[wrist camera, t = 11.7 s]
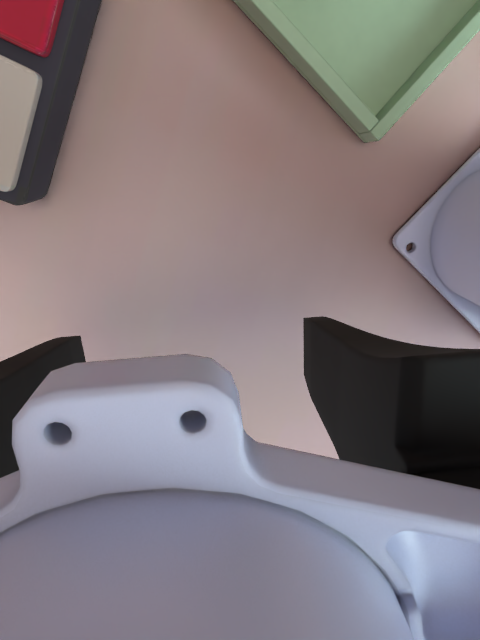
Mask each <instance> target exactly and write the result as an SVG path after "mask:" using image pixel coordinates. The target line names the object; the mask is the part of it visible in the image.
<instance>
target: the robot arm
mask: <svg viewBox="0 0 480 640" xmlns="http://www.w3.org/2000/svg"><path fill="white" fill-rule="evenodd" d="M409 243H412V244H413V246H412V249H411V250H409V251H407V250H406V246H407V244H409ZM393 245H394V247H395V248H396V249H397V250H398V251H399V252H400V253H401V254H402V255H403V256H404V257H405V258H406V259H407V260H408V261H409V262H410V263H411V264H412V265H413V266H414V267H415V268H416V269H417V270H418V271H419V272H420V273H421V274H422V275H423V276H424V277H425V278H426V279H427V280H428V281H429V282H430V283H431V284H432V285H433V286H434V287H435V288H436V289H437V290H438V291H439V292H440V293H441V295H442V296H443V297H444V298H445V299H446V300H447V301H448V302H449V303H450V304H451V305H452V306H453V307H454V308H455V309H456V310H457V311H458V312H459V313H460V314H461V315H462V316H463V317H464V318H465V319H466V320H467V321H468V322H469V323H470V324H471V325H472V326H473V327H474V328H475V329H476V330H477V331H478V332H479V333H480V148H479V149H478V150H477V151H476V152H475V153H474V154H473V155H472V156H471V157H470V158H469V159H468V160H467V161H466V162H465V163H464V164H463V165H462V166H461V168H460V169H459V170H458V171H457V172H456V173H455V174H454V175H453V176H452V177H451V178H450V179H449V180H448V181H447V182H446V183H445V184H444V185H443V186H442V187H441V188H440V189H439V190H438V191H437V192H436V193H435V194H434V195H433V196H432V197H431V198H430V199H429V200H428V201H427V202H426V203H425V204H424V205H423V206H422V207H421V208H420V210H419V211H418V212H417V213H416V214H415V215H414V216H413V217H412V218H411V219H410V220H409V221H408V222H407V223H406V224H405V225H404V226H403V227H402V228H401V229H400V230H399V231H398V232H397V233H396V234H395V236H394V237H393ZM304 376H305V379H306V383H307V387H308V390H309V393H310V396H311V399H312V401H313V403H314V405H315V407H316V409H317V411H318V413H319V415H320V418H321V420H322V422H323V424H324V426H325V428H326V430H327V432H328V434H329V436H330V438H331V440H332V442H333V444H334V446H335V449H336V451H337V454H338V456H339V459H340V460H339V459H334V458H330V457H325V456H320V455H316V454H311V453H306V452H301V451H297V450H292V449H287V448H283V447H278V446H273V445H268V444H264V443H259V442H256V441H255V440H253V439H252V438H251V437H250V436H249V435H247V434H246V432H245V430H244V429H243V424H242V416H241V408H240V400H239V393H238V390H237V388H236V385H235V383H234V380H233V377H232V375H231V373H230V372H229V371H228V370H226V369H225V368H224V367H222V366H221V365H220V364H219V363H217V362H216V361H215V360H213V359H212V358H208V357H201V356H195V355H188V354H181V355H169V356H156V357H144V358H132V359H120V360H107V361H95V362H86V361H85V356H84V351H83V347H82V342H81V337H80V336H71V337H60V338H55V339H52V340H49V341H47V342H44V343H42V344H39V345H37V346H35V347H33V348H30V349H28V350H26V351H24V352H22V353H19V354H17V355H15V356H13V357H10V358H8V359H6V360H3V361H1V362H0V640H480V349H452V348H439V347H430V346H422V345H415V344H409V343H405V342H400V341H396V340H391V339H387V338H384V337H380V336H377V335H374V334H371V333H368V332H365V331H362V330H359V329H357V328H354V327H352V326H349V325H347V324H344V323H341V322H339V321H336V320H334V319H331V318H328V317H311V318H304Z"/></svg>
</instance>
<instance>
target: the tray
mask: <svg viewBox="0 0 480 640" xmlns="http://www.w3.org/2000/svg"><path fill="white" fill-rule="evenodd" d="M233 1H234V2H235V3H236V4H237V5H238V7H239V8H240V9H241V10H242V11H243V12H244V13H245V14H246V15H247V16H248V17H249V18H250V20H251V21H252V22H253V23H254V24H255V25H256V26H257V27H258V28H259V29H260V30H261V31H262V33H263V34H264V35H265V36H266V37H267V38H268V39H269V40H270V41H271V42H272V43H273V44H274V46H275V47H276V48H277V49H278V50H279V51H280V52H281V53H282V54H283V55H284V56H285V57H286V59H287V60H288V61H289V62H290V63H291V64H292V65H293V66H294V67H295V68H296V69H297V70H298V72H299V73H300V74H301V75H302V76H303V77H304V78H305V79H306V80H307V81H308V82H309V83H310V85H311V86H312V87H313V88H314V89H315V90H316V91H317V92H318V93H319V94H320V95H321V96H322V98H323V99H324V100H325V101H326V102H327V103H328V104H329V105H330V106H331V107H332V108H333V109H334V111H335V112H336V113H337V114H338V115H339V116H340V117H341V118H342V119H343V120H344V121H345V122H346V124H347V125H348V126H349V127H350V128H351V129H352V130H353V131H354V132H355V133H356V134H357V136H358V137H359V138H360V139H361V140H362V141H363V142H364V143H367V142H374V141H379V140H380V139H381V138H382V137H383V136H384V135H385V134H386V133H387V132H388V130H389V129H390V128H391V127H392V126H393V125H394V124H395V123H396V122H397V121H398V119H399V118H400V117H401V116H402V115H403V114H404V113H405V112H406V111H407V110H408V108H409V107H410V106H411V105H412V104H413V103H414V102H415V101H416V100H417V98H418V97H419V96H420V95H421V94H422V93H423V92H424V91H425V90H426V89H427V87H428V86H429V85H430V84H431V83H432V82H433V81H434V80H435V79H436V78H437V76H438V75H439V74H440V73H441V72H442V71H443V70H444V69H445V68H446V67H447V65H448V64H449V63H450V62H451V61H452V60H453V59H454V58H455V57H456V56H457V54H458V53H459V52H460V51H461V50H462V49H463V48H464V47H465V46H466V45H467V43H468V42H469V41H470V40H471V39H472V38H473V37H474V36H475V35H476V33H477V32H478V31H479V30H480V0H233Z"/></svg>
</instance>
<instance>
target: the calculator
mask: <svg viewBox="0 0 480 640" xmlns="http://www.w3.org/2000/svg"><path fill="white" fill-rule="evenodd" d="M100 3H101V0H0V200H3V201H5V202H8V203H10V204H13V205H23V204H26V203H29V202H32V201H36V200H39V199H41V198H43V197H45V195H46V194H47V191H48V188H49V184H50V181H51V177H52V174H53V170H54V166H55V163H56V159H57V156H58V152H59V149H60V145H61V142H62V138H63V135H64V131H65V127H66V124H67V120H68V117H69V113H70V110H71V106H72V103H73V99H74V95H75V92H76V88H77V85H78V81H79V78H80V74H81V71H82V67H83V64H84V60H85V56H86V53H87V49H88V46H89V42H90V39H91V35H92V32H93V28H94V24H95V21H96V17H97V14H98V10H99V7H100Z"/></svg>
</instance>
